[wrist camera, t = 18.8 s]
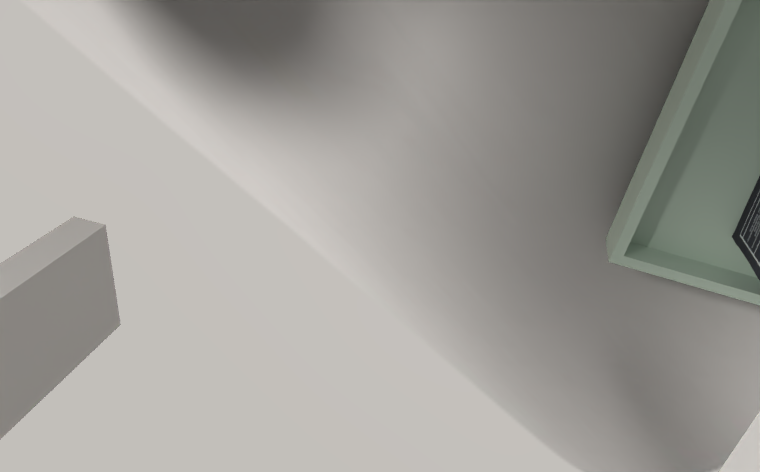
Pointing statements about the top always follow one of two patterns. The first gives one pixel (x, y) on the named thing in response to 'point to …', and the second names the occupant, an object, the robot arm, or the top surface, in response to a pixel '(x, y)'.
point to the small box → (750, 230)
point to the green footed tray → (700, 163)
